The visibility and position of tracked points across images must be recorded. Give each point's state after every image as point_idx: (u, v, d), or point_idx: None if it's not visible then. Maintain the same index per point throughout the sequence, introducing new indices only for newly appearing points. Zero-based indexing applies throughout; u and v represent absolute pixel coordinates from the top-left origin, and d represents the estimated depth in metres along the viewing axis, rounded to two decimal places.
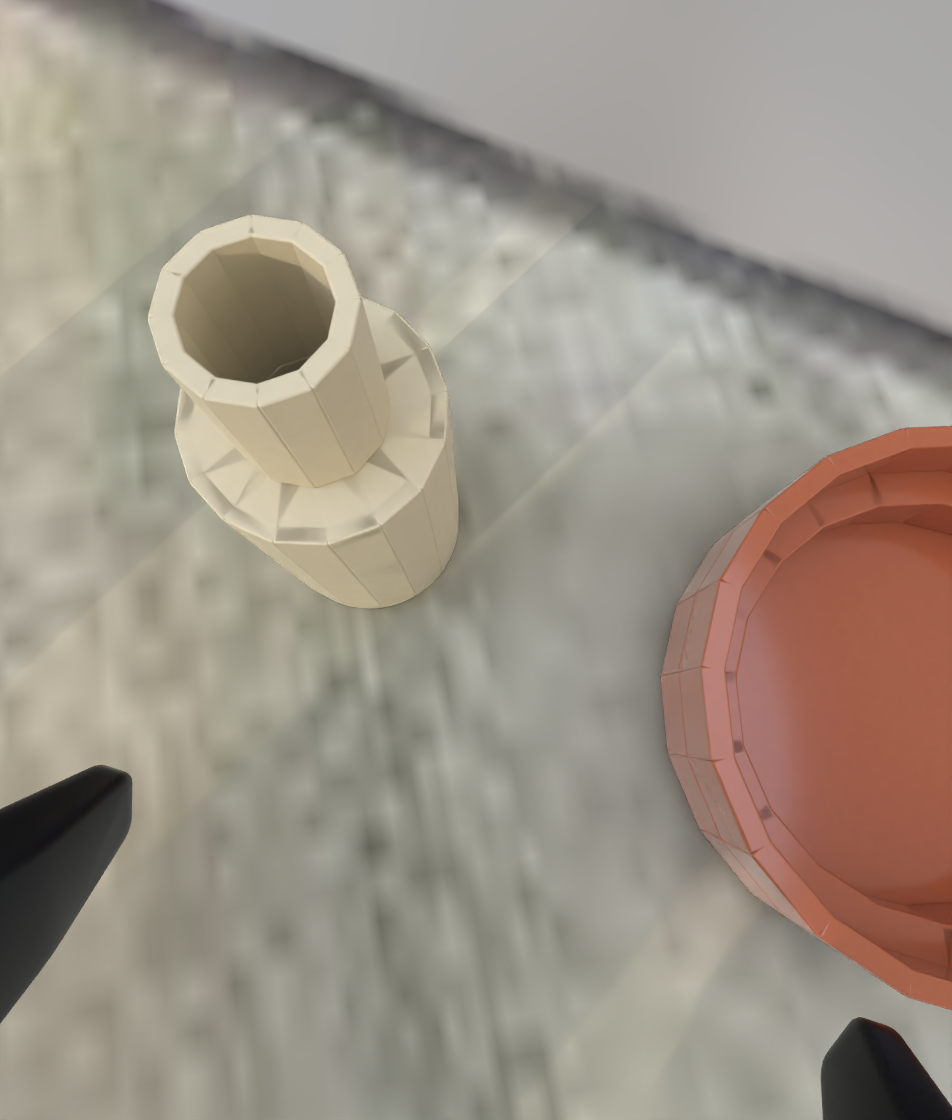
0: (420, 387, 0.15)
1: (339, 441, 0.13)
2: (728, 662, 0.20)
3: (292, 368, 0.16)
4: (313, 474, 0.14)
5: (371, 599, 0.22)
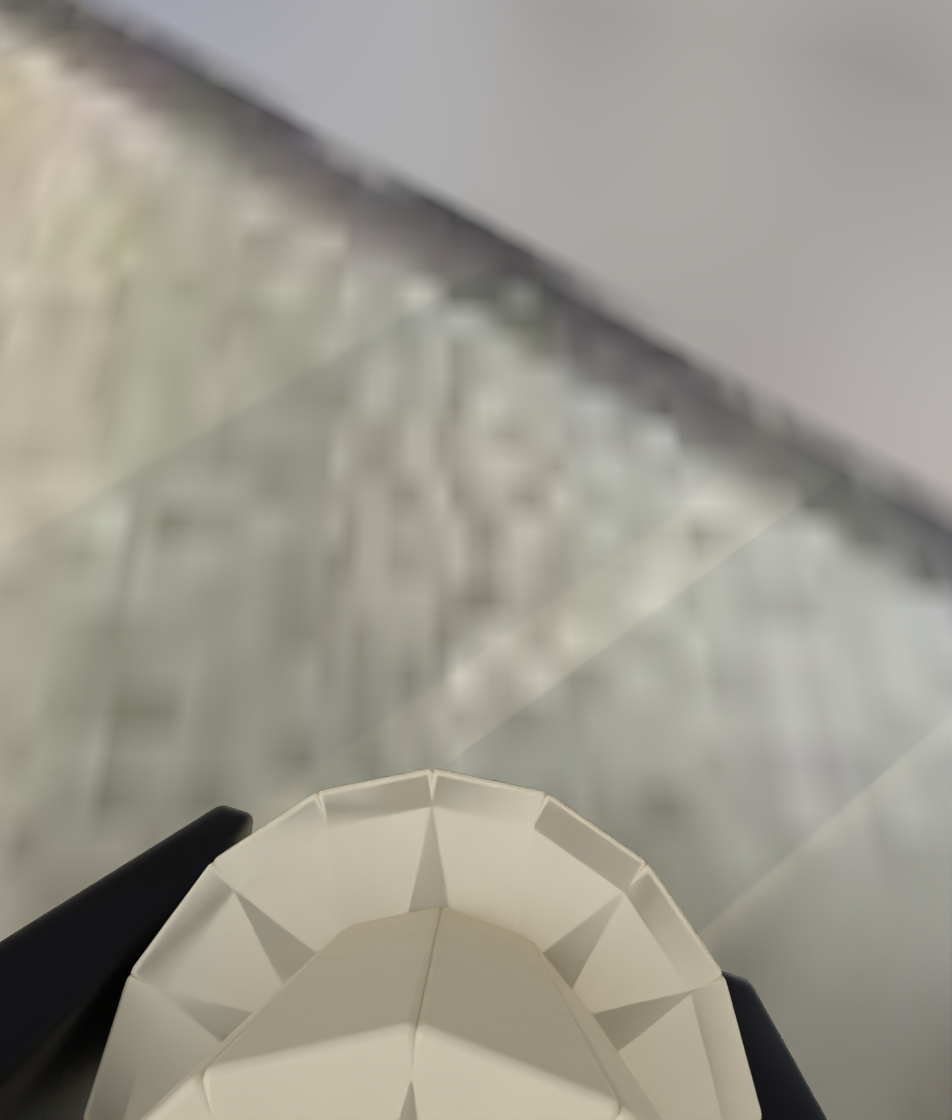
0: (697, 1097, 0.06)
1: None
2: None
3: None
4: None
5: None
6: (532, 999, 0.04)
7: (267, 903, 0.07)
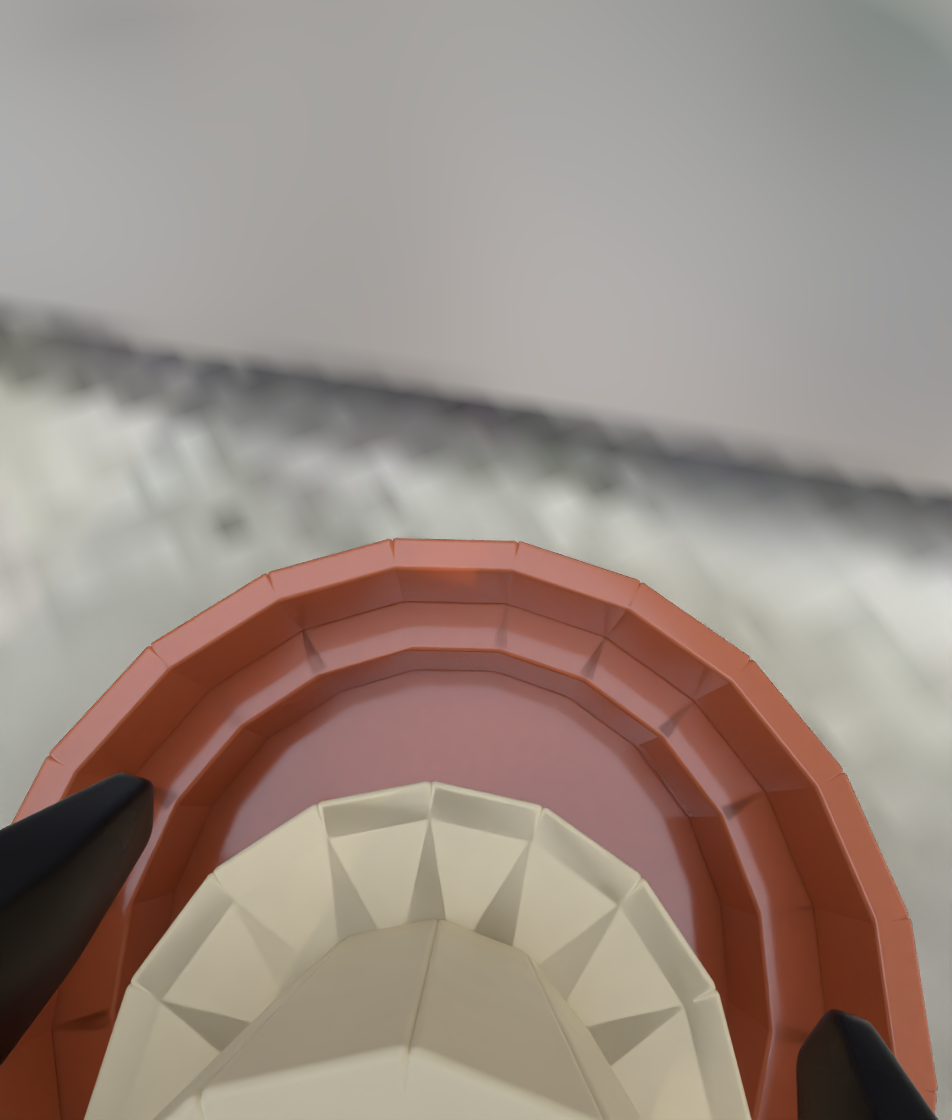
0: (689, 1110, 0.06)
1: None
2: (100, 993, 0.13)
3: None
4: None
5: None
6: (525, 1018, 0.04)
7: (266, 913, 0.07)
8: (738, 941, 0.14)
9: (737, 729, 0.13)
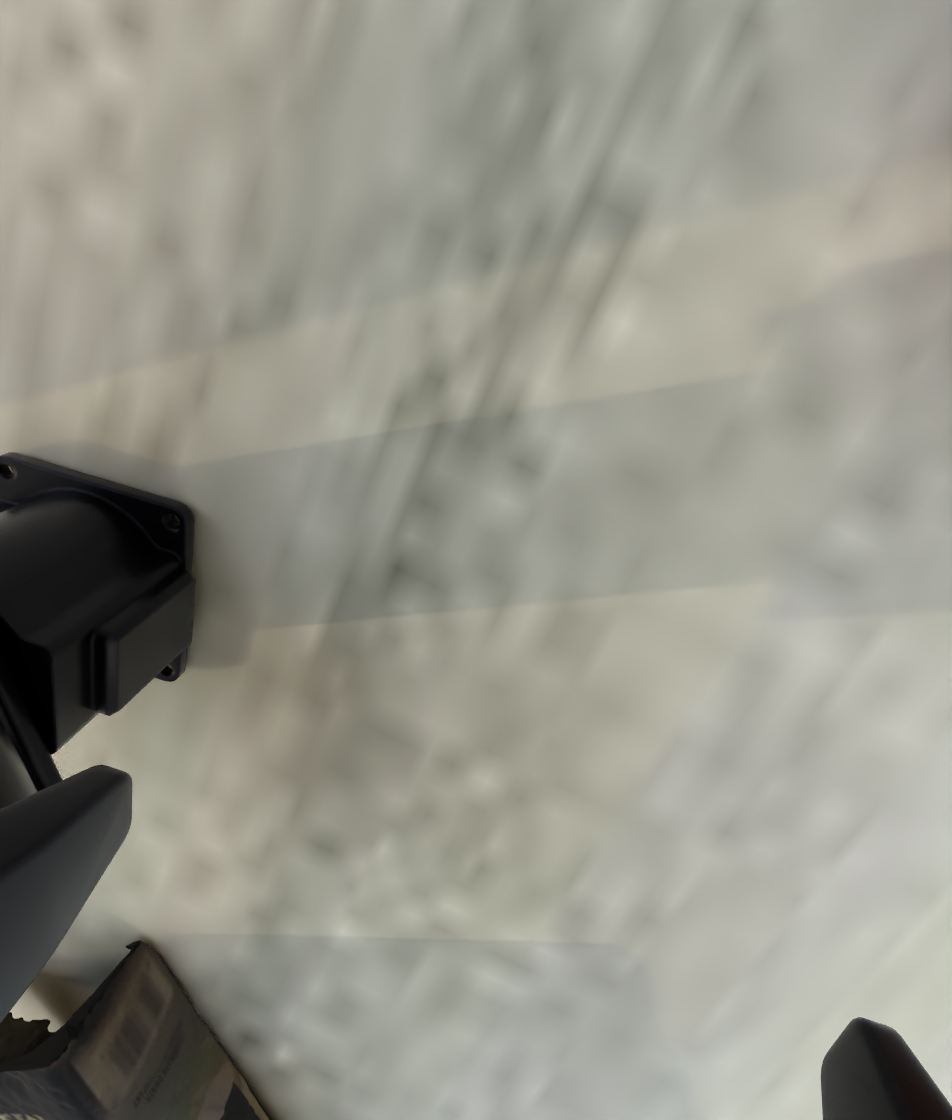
0: None
1: None
2: None
3: None
4: None
5: None
6: None
7: None
8: None
9: None
